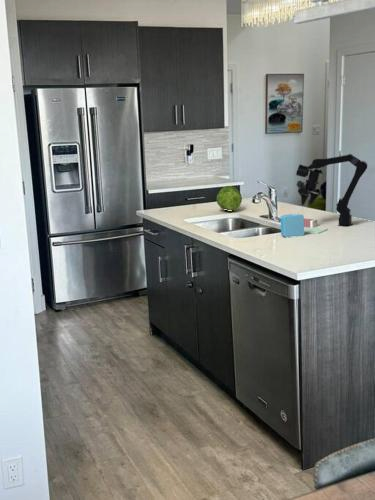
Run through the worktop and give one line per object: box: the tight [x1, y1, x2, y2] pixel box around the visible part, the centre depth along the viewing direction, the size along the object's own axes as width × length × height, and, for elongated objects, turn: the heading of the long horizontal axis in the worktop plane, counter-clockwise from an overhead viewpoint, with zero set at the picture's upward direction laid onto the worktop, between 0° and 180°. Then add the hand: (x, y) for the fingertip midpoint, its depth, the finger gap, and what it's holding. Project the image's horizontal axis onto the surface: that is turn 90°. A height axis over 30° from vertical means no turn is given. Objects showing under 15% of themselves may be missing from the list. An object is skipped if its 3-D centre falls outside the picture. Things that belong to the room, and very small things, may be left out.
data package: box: [280, 213, 305, 238], centre depth 332 cm, size 12×4×12 cm, turn 105°
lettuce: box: [216, 185, 243, 211], centre depth 431 cm, size 18×23×19 cm
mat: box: [304, 227, 329, 235], centre depth 343 cm, size 14×12×1 cm
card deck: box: [304, 218, 319, 228], centre depth 357 cm, size 6×9×4 cm, turn 49°
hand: (306, 204), depth 357 cm, fingers open, 9 cm apart
